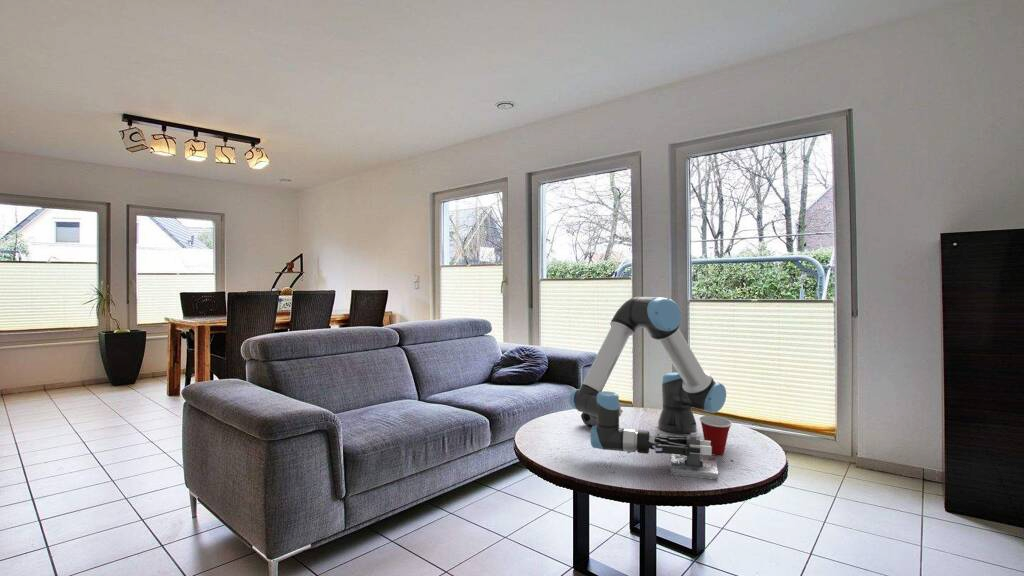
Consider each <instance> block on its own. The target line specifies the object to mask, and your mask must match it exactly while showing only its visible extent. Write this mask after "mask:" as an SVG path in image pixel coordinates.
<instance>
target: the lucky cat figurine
mask: <svg viewBox="0 0 1024 576" xmlns="http://www.w3.org/2000/svg"><path fill="white" fill-rule="evenodd" d="M622 414H623V410H622V409H621V406H620V407H619V418H620V417H621V416H622ZM580 417H581V418H580V419H581V420H582V423H584V425H585V426H586V427H588V428H590V429H592V427H593V426H597V417H595V416H592V415H590V414H587V413H584V412H581V414H580Z"/></svg>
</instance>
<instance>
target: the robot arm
mask: <svg viewBox="0 0 1024 576" xmlns="http://www.w3.org/2000/svg"><path fill="white" fill-rule="evenodd" d="M681 314H682V312H681V309H680V306H679V305H678V304H677V303H676V301H674V300H673V299H671V298H667V297H663V296H658V297H656V296H655V297H654V296H634V297H631V298H629V299H627V300H626V301H625V302H624V303H623V304H622V305H620V307H619V308H618V309H617V311H615V313H614V315H613V317H612V319H611V321H610V322H609V324H610V328H609V330H608V332H607V335H606V336H605V338H604V341H603V342H602V345H601V347H600V348H599V350H598V352H597V354H596V356H595V358H594V361H593V362H592V364H591V366H590V368H589V370H588V372H587V374H586V376H585V377H584V380H583V382H582V384H581V386H580V388H577V389H574V390H572V391H571V393H570V395H569V397H568V398H569V404H570V406H571V408H573V409H574V410H577V412H581V413H583V412H584V413H587V414H590V415H592V416H595V417H597V426H593V427H592V428H590V438H589V439H590V445H591V447H592V448H594V449H599V450H604V451H617V452H626V453H627V454H630V453H636V452H637V453H638V454H643V455H644V454H645V455H648V454H649V453H650V450H654V451H655V454H668V455H671V454H676V455H685V456H690V453H691V454H700V455H701V456H702V455H703V456H713V455H712V447H711V441H706V440H704V439H700V445H692V444H690V446H689V445H687V435H686V436H684V435H672V434H671V435H670V434H663V433H662V434H661V433H656V435H653V436H650V431H649V430H644V429H638V430H637V429H634V428H621V427H620V417H619V407H621V406H620V399H619V398H620V397H619V394H618V393H616V392H615V391H608V390H607V391H603V390H604V387H606V384H607V381H609V380H608V379H610V375H611V374H612V372H613V370H614V368H615V366H616V364H617V362H618V360H619V358H620V356H621V354H622V352H623V350H624V348H625V346H626V344H627V342H628V340H629V338H630V337H631V336H634V334H635V333H636V331H637V329H640V328H641V329H646V331H647V332H648V334H649V335H650V337H651V338H652V339H653V340H658V342H659V344H660V346H661V347H662V349H663V351H664V353H665V354H666V355H667V357H668V358H669V360H670V362H671V364H672V365H673V368H674V369H675V370H676V371H675V372H668V373H665V374H663V375H662V382H661V385H662V386H661V387H662V389H661V394H662V396H661V397H662V398H661V399H662V409H661V412H660V414H659V418H658V421H657V424H658V425H657V426H658V428H659V430H662V431H664V432H668V433H674V434H690V433H696V431H697V421H696V419H695V416H694V412H693V409H697V410H701V411H702V412H703V411H704V412H707V413H713V414H715V413H717V412H719V411H721V410H722V408H723V406H724V405H725V403H726V399H727V390H726V386H724V384H723V383H720V382H715V380H714V379H713V377H712V375H711V374H710V372H709V371H706V370H704V369H703V368H702V365H701V363H699V361H698V359H697V357H696V356H695V354H694V352H693V350H692V349H691V347H690V345H689V344H688V341H687V340H686V338H685V337H684V336H683V333H682V331H681V330H680V327H681V320H682V316H681Z"/></svg>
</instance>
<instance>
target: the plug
mask: <svg viewBox="0 0 1024 576" xmlns="http://www.w3.org/2000/svg"><path fill="white" fill-rule="evenodd" d="M689 434H690V435H686V437H687V445H689V446H690V444H692V445H700V440H701V438H700V436H697V432H692V433H689ZM700 457H701V454H691V453H690V456H687V465H688V466H697V467H700Z"/></svg>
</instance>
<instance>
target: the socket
mask: <svg viewBox="0 0 1024 576" xmlns="http://www.w3.org/2000/svg"><path fill="white" fill-rule="evenodd" d="M670 456H671V457H670V475H671V474H674V475H673V476H678V475H682V476H681V477H687V476H691V477H690V478H696V477H702V478H701V479H705V478H712V479H711V480H714V479H718V480H719V472H718V465H717V462H716V461H717V459H716V457H708V456H707V457H706V456H700V467H697V466H688V465H687V456H685V455H676V454H670Z"/></svg>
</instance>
